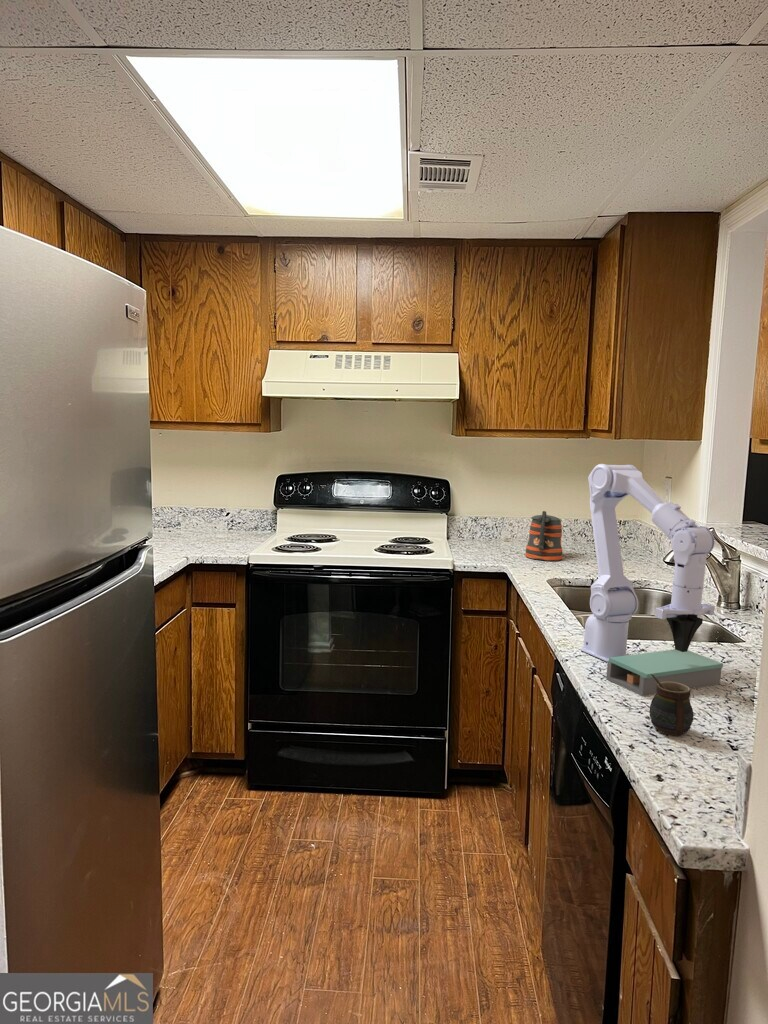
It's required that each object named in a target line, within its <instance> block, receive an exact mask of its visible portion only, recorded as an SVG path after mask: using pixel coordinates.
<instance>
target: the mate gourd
mask: <svg viewBox="0 0 768 1024" xmlns="http://www.w3.org/2000/svg"><path fill="white" fill-rule="evenodd" d="M651 675H652V674H651ZM652 677H653V678H654V679H655V681H656V682H657V683H658V684H657V689H656V692H657V693H656V694H654V696H653V698H652V699H651V702H650V705H649V718H650V722H651V724H652V726H653V727H655V729H656V730H657V731H659V732H660V733H662V734H666V735H670V736H671V735H672V736H674V737H678V736H683V735H684V734H686V733H687V732H689V730H690V729H691V727H692V725H693V722H694V718H695V717H694V716H695V714H694V710H693V706H692V704H691V699H690V698H691V692H692V690H691V689H690V688H689V687H688V686H686V685H684V684H681V683H677V682H670V681H665V682H659V681H658V679H656V677H655V676H654V675H652Z"/></svg>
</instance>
